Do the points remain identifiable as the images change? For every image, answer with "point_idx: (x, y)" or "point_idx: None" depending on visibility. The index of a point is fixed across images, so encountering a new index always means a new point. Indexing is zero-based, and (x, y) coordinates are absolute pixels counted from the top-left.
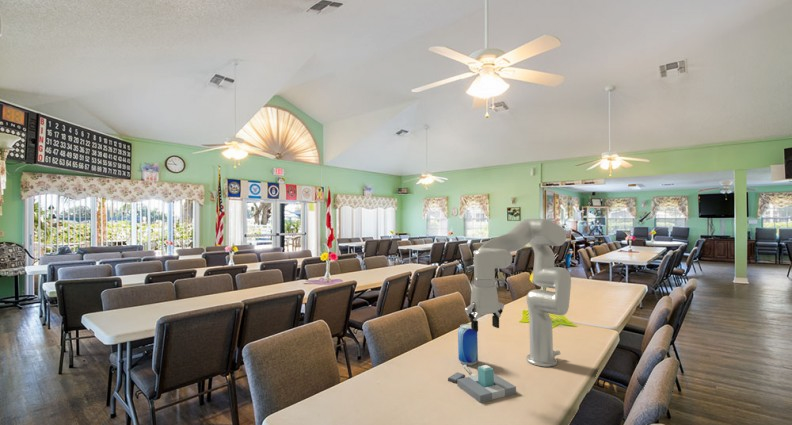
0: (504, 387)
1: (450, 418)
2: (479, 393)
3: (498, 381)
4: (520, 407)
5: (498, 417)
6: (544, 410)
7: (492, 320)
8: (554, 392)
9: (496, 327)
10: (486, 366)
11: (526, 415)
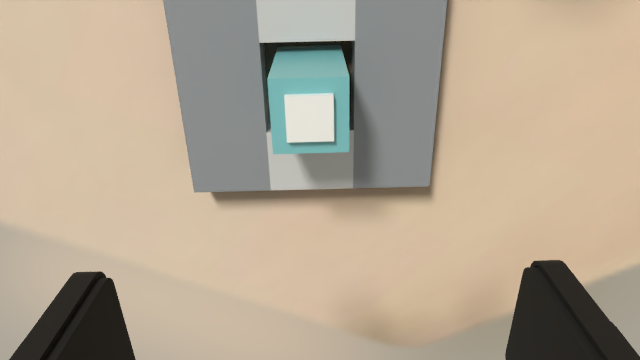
0: (367, 171)
1: (18, 227)
2: (203, 174)
3: (389, 103)
4: (345, 263)
5: (214, 283)
6: (412, 306)
7: (573, 340)
8: (584, 227)
9: (508, 343)
10: (317, 119)
11: (323, 307)
